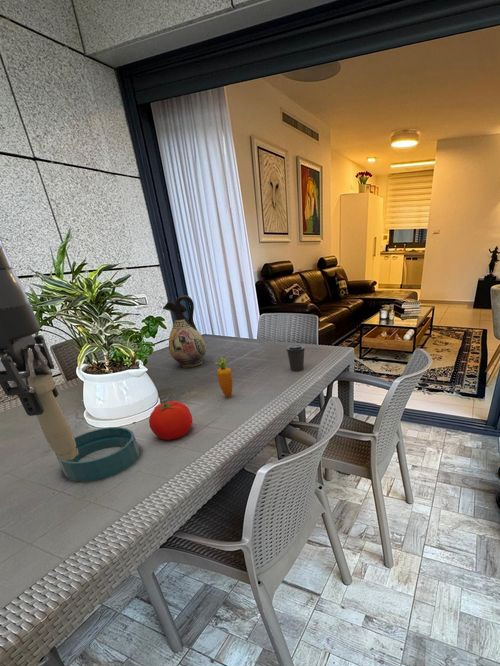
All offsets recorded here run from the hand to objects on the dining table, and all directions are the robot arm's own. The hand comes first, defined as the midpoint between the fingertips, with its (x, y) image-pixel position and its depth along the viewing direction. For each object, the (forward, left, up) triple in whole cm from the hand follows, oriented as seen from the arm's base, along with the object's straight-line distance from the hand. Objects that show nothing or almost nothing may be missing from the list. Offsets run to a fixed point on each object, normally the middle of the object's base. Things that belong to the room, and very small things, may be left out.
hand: (44, 405), depth 60 cm
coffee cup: (+60, +75, -27) cm, 100 cm away
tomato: (+13, +33, -27) cm, 45 cm away
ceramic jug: (+17, +99, -27) cm, 104 cm away
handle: (0, 0, -11) cm, 11 cm away
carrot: (+30, +54, -27) cm, 67 cm away
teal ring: (-4, +24, -27) cm, 36 cm away
